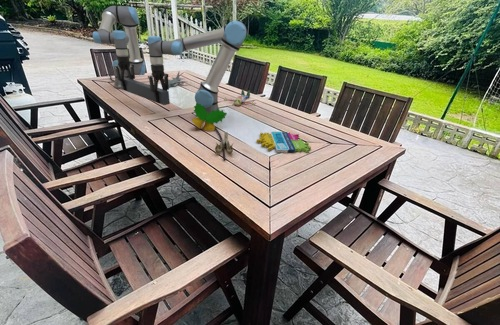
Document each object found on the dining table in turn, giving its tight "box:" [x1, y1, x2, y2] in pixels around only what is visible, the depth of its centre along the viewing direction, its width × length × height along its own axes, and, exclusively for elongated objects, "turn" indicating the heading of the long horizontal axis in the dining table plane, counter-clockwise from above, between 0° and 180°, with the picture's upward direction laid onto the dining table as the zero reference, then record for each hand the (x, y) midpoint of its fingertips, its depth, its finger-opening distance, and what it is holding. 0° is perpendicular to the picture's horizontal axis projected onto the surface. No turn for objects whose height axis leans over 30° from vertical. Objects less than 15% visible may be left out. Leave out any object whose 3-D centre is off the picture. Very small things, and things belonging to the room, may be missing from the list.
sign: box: [256, 131, 312, 154], centre depth 152 cm, size 26×2×30 cm
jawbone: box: [214, 131, 234, 156], centre depth 136 cm, size 9×15×10 cm
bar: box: [120, 77, 171, 106], centre depth 179 cm, size 52×4×8 cm, turn 51°
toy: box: [223, 89, 257, 106], centre depth 219 cm, size 28×7×30 cm
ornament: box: [191, 101, 228, 132], centre depth 162 cm, size 21×8×15 cm, turn 105°
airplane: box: [161, 70, 187, 89], centre depth 251 cm, size 38×31×10 cm
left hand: (128, 89), depth 191 cm, fingers closed on bar, 4 cm apart
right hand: (161, 101), depth 171 cm, fingers closed on bar, 4 cm apart
